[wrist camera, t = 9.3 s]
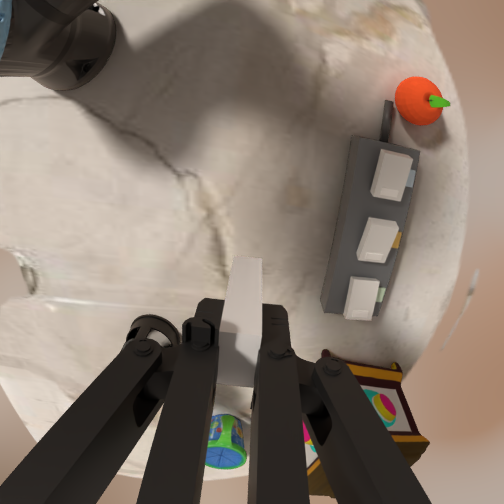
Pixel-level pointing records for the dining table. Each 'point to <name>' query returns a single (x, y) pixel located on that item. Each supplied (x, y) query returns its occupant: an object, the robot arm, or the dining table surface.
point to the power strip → (364, 219)
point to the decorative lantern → (390, 411)
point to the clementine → (419, 101)
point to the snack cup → (225, 443)
